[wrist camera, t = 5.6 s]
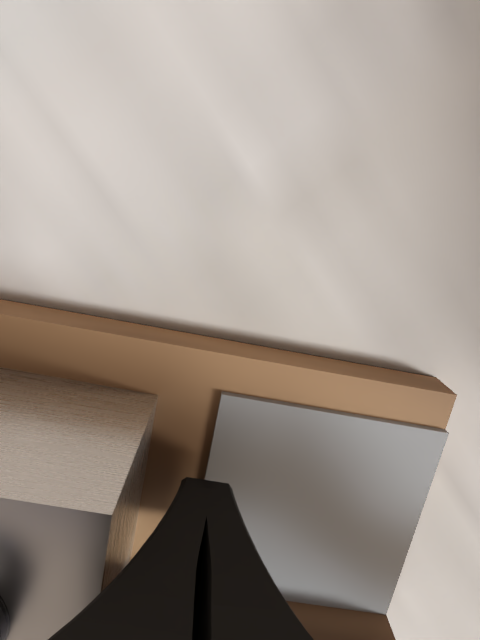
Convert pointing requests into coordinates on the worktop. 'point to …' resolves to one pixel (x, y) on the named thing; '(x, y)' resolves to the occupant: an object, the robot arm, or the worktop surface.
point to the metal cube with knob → (65, 495)
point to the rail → (268, 449)
